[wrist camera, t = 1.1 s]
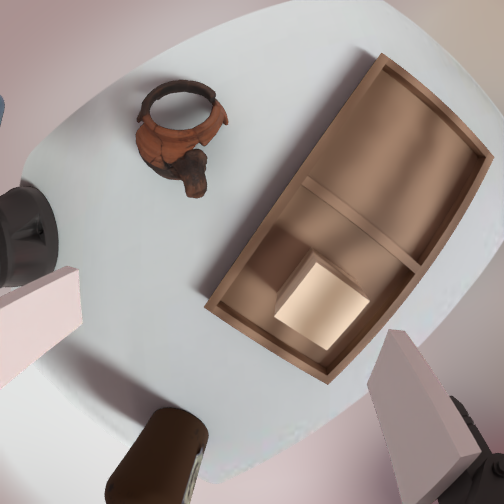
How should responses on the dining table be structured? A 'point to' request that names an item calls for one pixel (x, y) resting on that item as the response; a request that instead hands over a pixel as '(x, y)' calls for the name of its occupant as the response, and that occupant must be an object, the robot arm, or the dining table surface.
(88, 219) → the dining table surface
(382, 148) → the walnut tray
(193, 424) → the olive oil
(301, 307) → the beech block
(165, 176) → the pottery mug
